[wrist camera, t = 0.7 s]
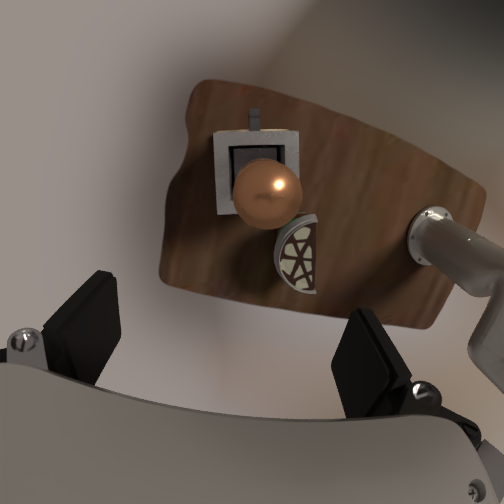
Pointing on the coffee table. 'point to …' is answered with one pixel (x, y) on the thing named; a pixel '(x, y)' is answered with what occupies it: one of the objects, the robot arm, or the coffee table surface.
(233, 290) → the coffee table surface
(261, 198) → the plunger
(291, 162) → the press sleeve
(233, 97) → the coffee table surface
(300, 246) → the food container
